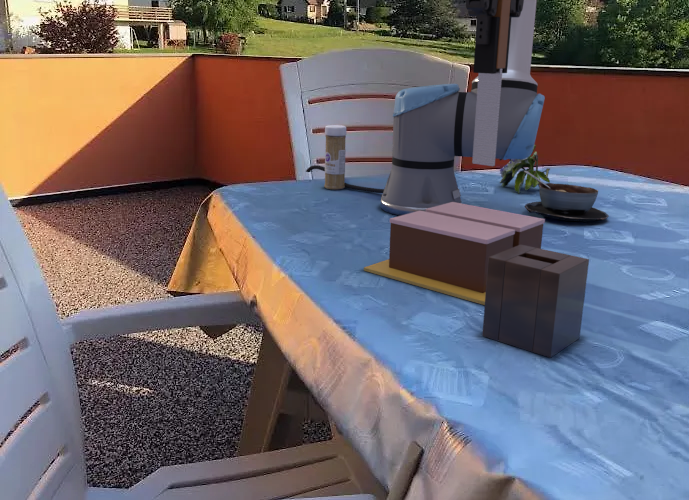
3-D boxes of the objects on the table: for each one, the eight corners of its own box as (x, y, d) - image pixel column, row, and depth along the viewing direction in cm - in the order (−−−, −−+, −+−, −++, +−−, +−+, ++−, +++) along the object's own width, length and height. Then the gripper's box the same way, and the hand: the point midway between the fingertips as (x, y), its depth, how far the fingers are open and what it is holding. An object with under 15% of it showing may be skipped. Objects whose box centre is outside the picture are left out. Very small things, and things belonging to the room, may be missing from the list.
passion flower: (503, 210, 160) (499, 162, 164) (553, 205, 157) (548, 156, 161) (498, 190, 150) (494, 140, 154) (552, 184, 147) (546, 133, 151)
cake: (363, 270, 98) (365, 218, 96) (444, 243, 113) (447, 197, 111) (489, 306, 86) (494, 247, 83) (563, 270, 100) (568, 219, 98)
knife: (469, 164, 91) (481, -10, 85) (477, 162, 92) (489, -9, 86) (489, 167, 89) (503, -11, 83) (497, 165, 90) (511, -10, 84)
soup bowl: (560, 229, 123) (564, 187, 121) (504, 209, 137) (507, 171, 135) (625, 222, 128) (631, 182, 126) (566, 204, 142) (570, 167, 140)
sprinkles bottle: (320, 188, 153) (320, 125, 150) (333, 185, 157) (334, 124, 153) (336, 191, 151) (337, 127, 147) (349, 188, 154) (350, 125, 150)
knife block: (481, 336, 77) (488, 256, 74) (513, 318, 82) (520, 244, 79) (550, 358, 72) (559, 273, 69) (579, 338, 77) (589, 259, 74)
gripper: (502, -160, 73) (485, 75, 80) (566, -132, 84) (546, 72, 90) (441, -149, 78) (430, 72, 84) (509, -124, 89) (494, 70, 95)
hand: (490, 72), depth 87 cm, fingers closed on knife, 2 cm apart
